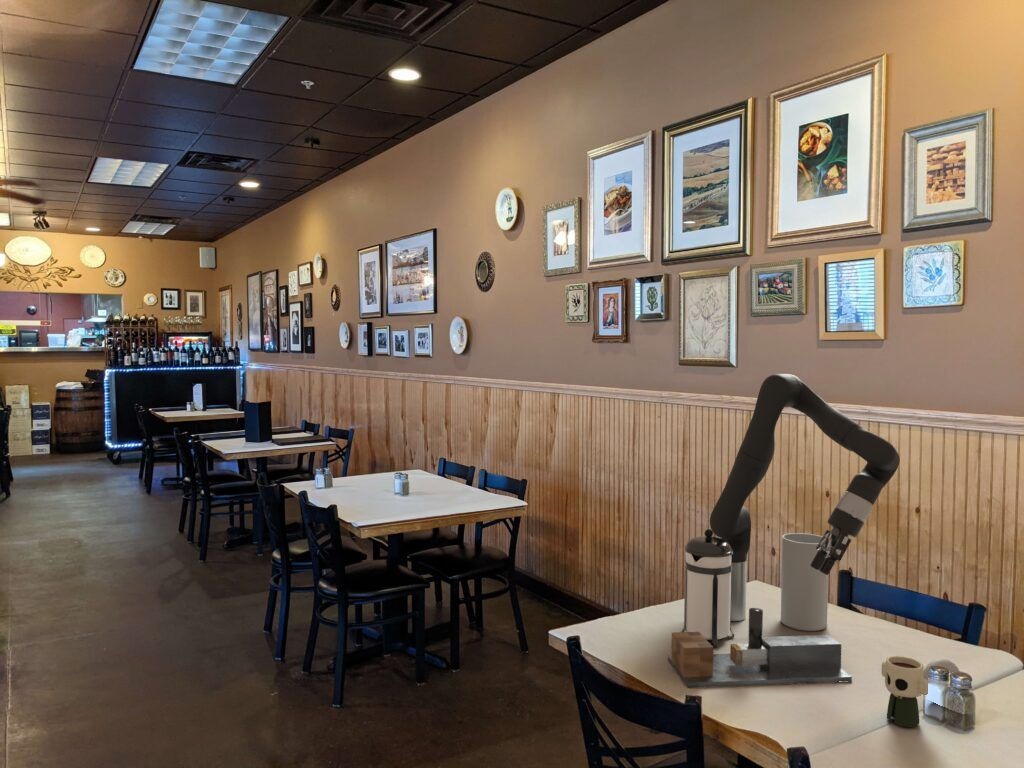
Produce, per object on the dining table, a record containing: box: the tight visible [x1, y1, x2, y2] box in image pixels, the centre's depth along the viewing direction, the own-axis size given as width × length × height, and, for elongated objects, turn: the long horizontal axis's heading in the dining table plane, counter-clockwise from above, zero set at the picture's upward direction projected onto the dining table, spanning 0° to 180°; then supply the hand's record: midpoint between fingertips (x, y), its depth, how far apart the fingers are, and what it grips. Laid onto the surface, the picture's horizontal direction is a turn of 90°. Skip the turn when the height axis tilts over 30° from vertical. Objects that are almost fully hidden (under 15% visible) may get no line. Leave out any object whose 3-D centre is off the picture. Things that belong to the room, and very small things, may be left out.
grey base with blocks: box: [667, 634, 853, 689], centre depth 187 cm, size 16×40×7 cm, turn 96°
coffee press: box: [680, 528, 735, 649], centre depth 209 cm, size 17×16×30 cm
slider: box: [729, 607, 769, 665], centre depth 187 cm, size 4×24×13 cm, turn 96°
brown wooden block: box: [670, 631, 714, 677], centre depth 185 cm, size 10×7×7 cm
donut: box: [923, 658, 961, 681], centre depth 170 cm, size 10×4×10 cm, turn 107°
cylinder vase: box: [780, 532, 829, 632], centre depth 219 cm, size 12×12×25 cm
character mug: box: [881, 655, 928, 728], centre depth 161 cm, size 11×7×13 cm, turn 24°
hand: (818, 570), depth 190 cm, fingers open, 8 cm apart
